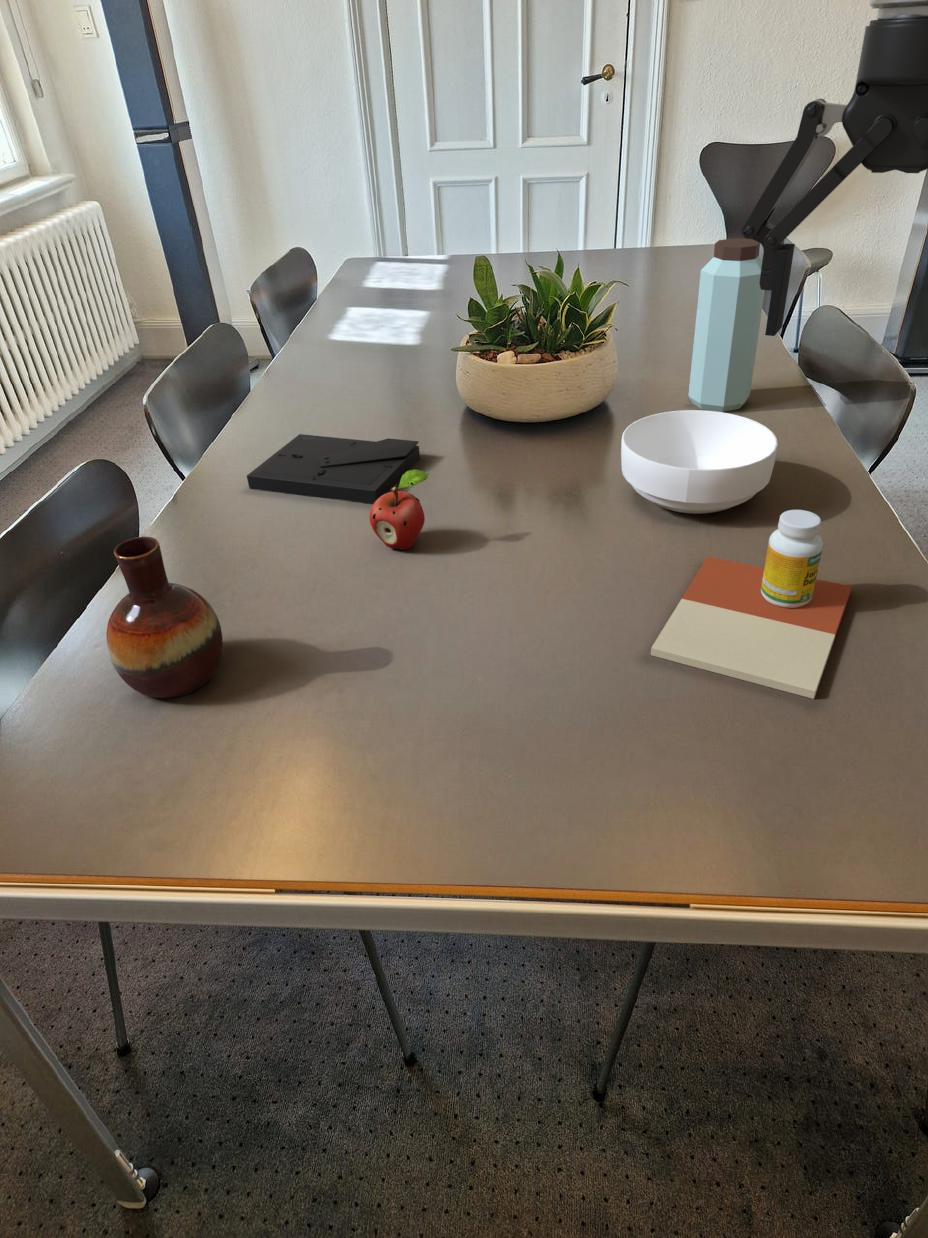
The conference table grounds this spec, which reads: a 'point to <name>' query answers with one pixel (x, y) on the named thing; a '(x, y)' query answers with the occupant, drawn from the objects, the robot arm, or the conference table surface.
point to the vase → (160, 627)
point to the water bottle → (727, 326)
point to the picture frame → (336, 467)
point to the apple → (399, 513)
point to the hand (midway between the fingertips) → (861, 339)
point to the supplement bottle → (792, 560)
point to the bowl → (697, 459)
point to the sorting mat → (752, 629)
